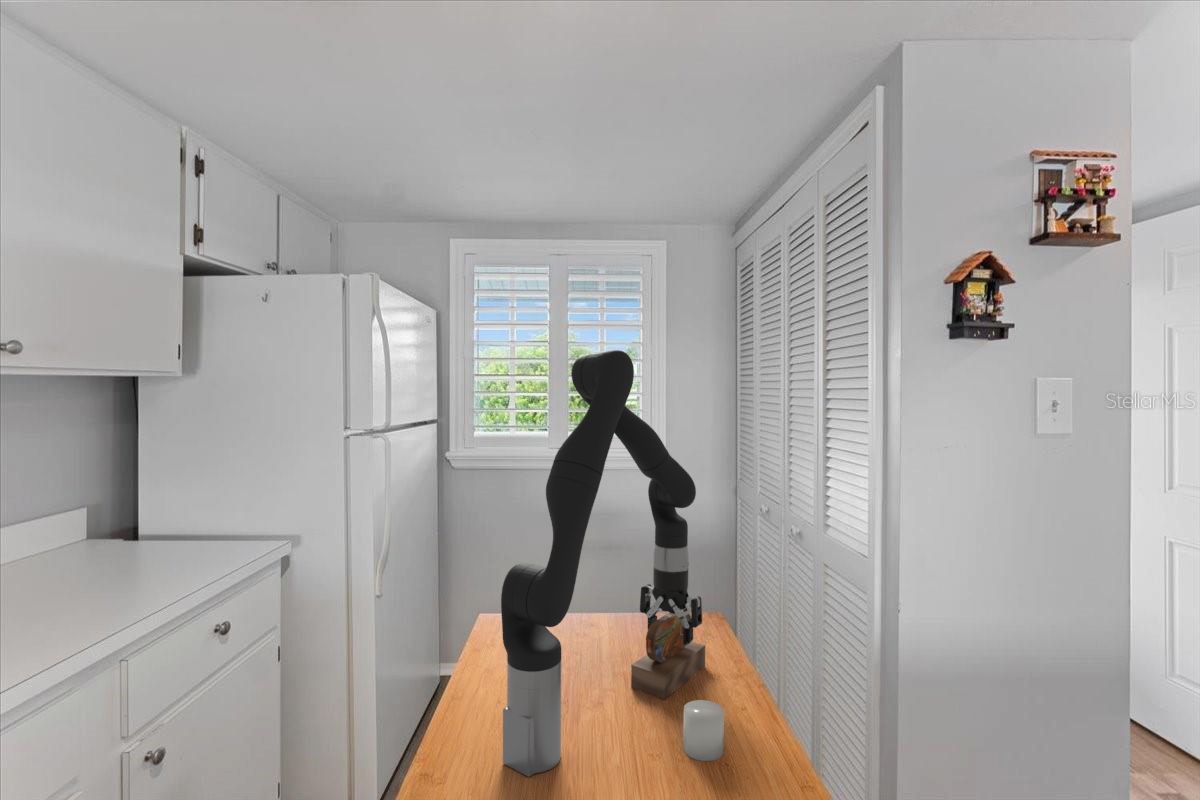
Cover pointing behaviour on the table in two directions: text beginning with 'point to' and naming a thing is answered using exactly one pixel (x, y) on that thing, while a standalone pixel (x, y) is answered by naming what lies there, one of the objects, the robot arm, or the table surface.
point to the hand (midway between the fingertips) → (669, 638)
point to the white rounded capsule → (703, 730)
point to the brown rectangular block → (667, 671)
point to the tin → (665, 638)
